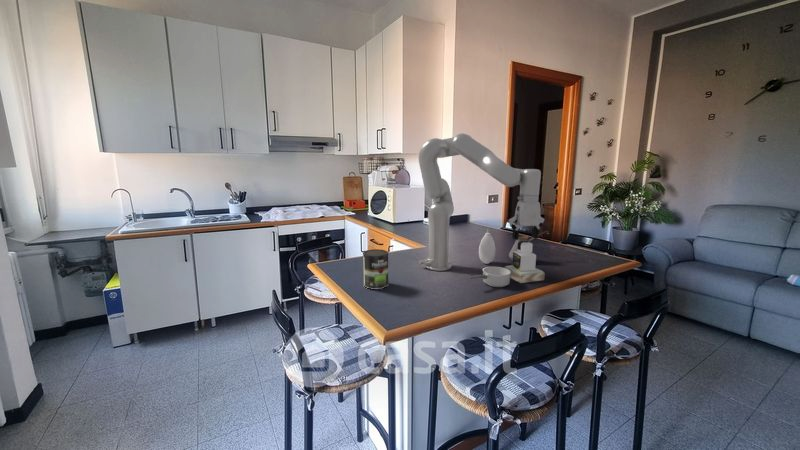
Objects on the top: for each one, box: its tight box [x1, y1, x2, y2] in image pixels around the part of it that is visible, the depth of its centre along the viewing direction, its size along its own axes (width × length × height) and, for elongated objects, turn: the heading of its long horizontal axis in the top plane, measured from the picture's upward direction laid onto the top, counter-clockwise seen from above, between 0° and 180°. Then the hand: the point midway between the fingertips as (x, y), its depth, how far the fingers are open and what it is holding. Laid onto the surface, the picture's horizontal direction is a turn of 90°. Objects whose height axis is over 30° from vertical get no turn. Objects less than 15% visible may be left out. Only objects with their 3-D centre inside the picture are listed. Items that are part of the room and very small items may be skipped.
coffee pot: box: [508, 230, 550, 262], centre depth 169 cm, size 21×12×15 cm, turn 106°
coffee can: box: [362, 248, 389, 289], centre depth 136 cm, size 10×10×14 cm
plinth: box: [503, 264, 546, 284], centre depth 146 cm, size 12×12×4 cm
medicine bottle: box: [511, 240, 537, 271], centre depth 144 cm, size 7×7×12 cm
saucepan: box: [469, 266, 511, 288], centre depth 136 cm, size 12×20×6 cm, turn 121°
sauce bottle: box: [478, 230, 496, 265], centre depth 164 cm, size 8×8×18 cm
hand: (524, 238), depth 143 cm, fingers open, 9 cm apart
